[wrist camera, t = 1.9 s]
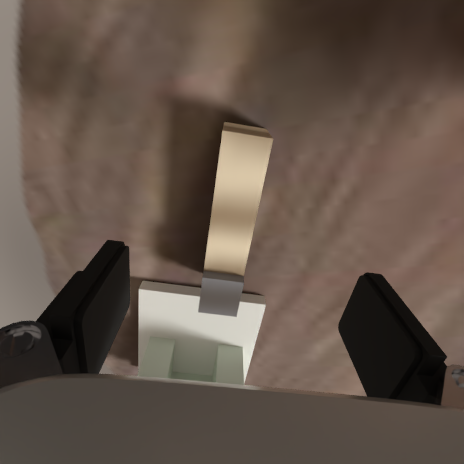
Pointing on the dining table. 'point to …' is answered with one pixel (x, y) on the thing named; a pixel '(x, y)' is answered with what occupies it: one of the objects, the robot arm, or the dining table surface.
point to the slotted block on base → (194, 335)
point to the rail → (233, 216)
